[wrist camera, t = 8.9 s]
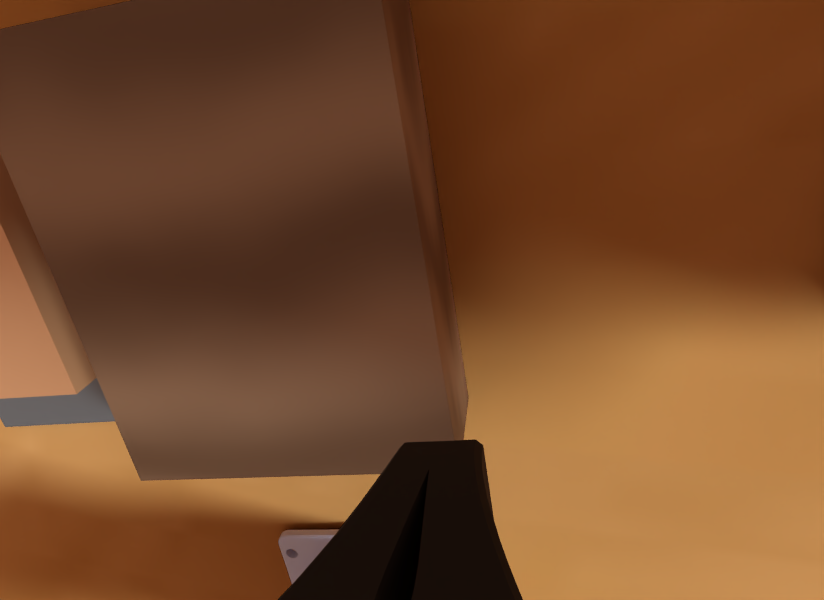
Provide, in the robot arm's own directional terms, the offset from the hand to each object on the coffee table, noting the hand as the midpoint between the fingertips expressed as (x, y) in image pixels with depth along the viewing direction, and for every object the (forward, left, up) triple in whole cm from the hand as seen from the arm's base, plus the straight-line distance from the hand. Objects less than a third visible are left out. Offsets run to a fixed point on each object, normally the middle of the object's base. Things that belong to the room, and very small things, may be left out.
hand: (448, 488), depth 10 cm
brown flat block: (+2, +7, -10) cm, 12 cm away
